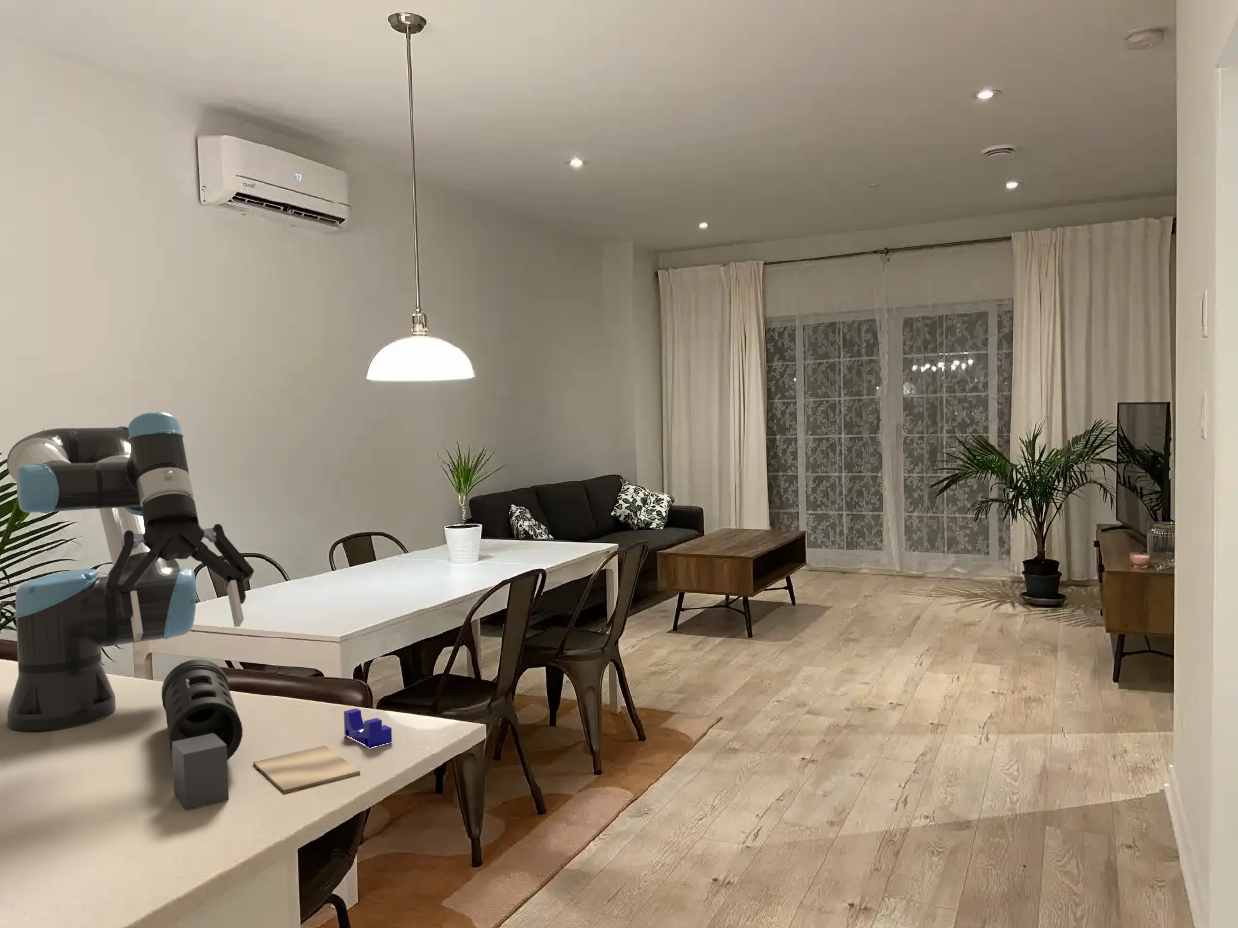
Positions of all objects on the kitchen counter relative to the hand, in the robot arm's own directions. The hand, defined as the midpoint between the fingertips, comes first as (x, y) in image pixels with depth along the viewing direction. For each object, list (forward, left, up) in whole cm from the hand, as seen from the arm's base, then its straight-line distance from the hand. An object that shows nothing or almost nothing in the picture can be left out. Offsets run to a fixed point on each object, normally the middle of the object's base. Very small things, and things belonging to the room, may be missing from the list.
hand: (190, 630), depth 135 cm
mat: (+20, +9, -17) cm, 28 cm away
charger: (+21, -4, -17) cm, 27 cm away
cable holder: (+14, +21, -18) cm, 31 cm away
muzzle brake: (0, +1, -18) cm, 18 cm away
